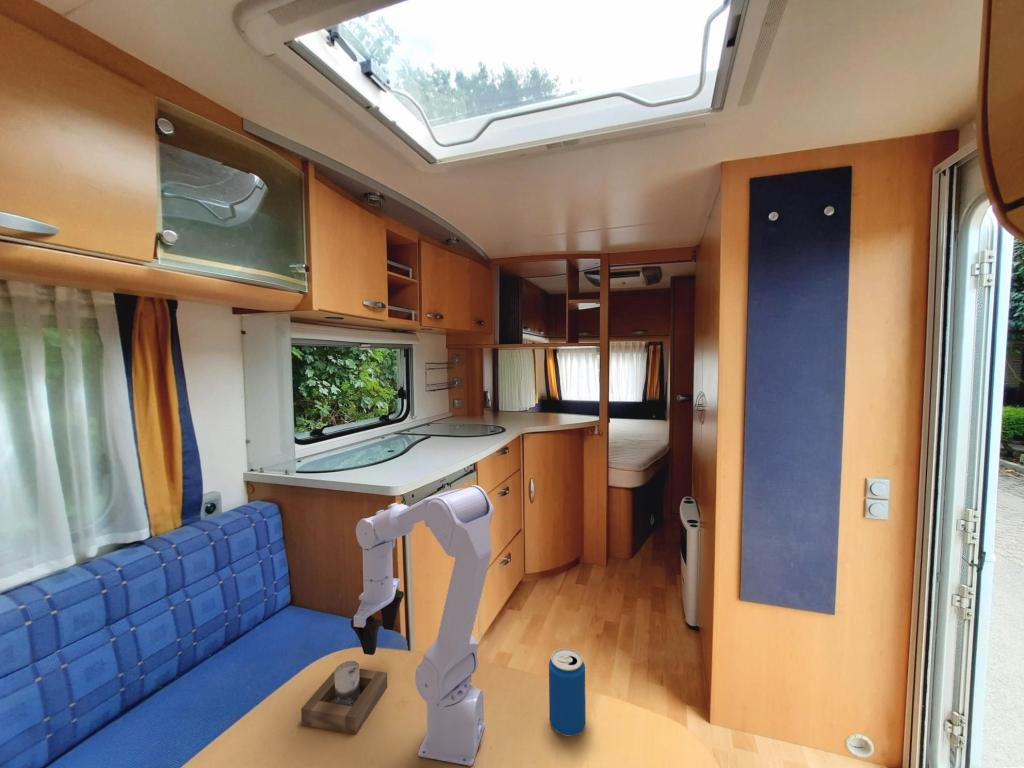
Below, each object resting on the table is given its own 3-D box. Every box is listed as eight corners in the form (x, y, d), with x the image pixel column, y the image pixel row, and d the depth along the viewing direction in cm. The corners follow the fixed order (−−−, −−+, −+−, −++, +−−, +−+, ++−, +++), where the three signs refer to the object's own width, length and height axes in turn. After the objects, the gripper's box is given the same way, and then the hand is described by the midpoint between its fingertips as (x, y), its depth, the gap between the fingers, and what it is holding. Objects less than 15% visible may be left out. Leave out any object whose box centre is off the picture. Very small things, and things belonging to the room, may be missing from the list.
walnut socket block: (387, 687, 82) (387, 672, 82) (356, 734, 71) (355, 717, 71) (339, 679, 84) (338, 665, 84) (301, 724, 73) (301, 708, 73)
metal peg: (364, 696, 79) (363, 661, 79) (352, 715, 75) (351, 678, 75) (343, 694, 80) (342, 660, 80) (330, 713, 76) (329, 676, 75)
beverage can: (585, 742, 69) (584, 673, 68) (547, 736, 70) (546, 668, 70) (586, 711, 75) (585, 648, 75) (551, 706, 76) (550, 644, 76)
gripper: (378, 557, 89) (380, 617, 90) (338, 591, 75) (340, 663, 76) (408, 559, 88) (409, 620, 88) (372, 595, 74) (374, 667, 74)
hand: (379, 640), depth 82 cm, fingers open, 7 cm apart
